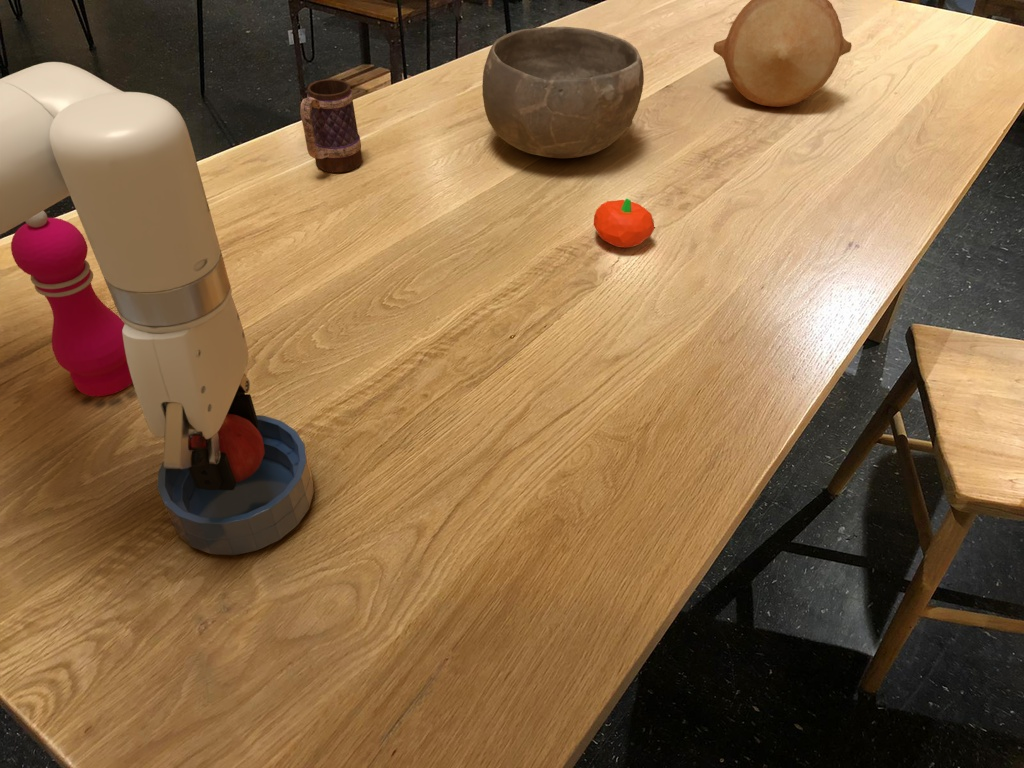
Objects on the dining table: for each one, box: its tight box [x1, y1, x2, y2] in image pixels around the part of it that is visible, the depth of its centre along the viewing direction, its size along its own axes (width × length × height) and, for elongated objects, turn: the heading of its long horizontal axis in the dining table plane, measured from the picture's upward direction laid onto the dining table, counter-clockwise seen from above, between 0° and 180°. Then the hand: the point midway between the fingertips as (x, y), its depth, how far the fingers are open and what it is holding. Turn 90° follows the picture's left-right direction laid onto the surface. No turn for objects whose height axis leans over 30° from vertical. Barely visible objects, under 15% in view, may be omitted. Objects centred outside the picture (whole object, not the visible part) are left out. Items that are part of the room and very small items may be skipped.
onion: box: [191, 414, 265, 483], centre depth 64 cm, size 6×6×8 cm
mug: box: [300, 78, 363, 174], centre depth 111 cm, size 10×7×12 cm
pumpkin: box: [593, 198, 656, 249], centre depth 100 cm, size 7×8×6 cm
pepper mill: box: [10, 210, 133, 397], centre depth 74 cm, size 7×7×20 cm
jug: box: [712, 0, 853, 108], centre depth 136 cm, size 20×19×30 cm
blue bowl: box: [157, 414, 315, 556], centre depth 67 cm, size 12×12×5 cm
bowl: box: [481, 26, 645, 159], centre depth 117 cm, size 24×24×15 cm
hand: (228, 455), depth 65 cm, fingers closed on onion, 5 cm apart
